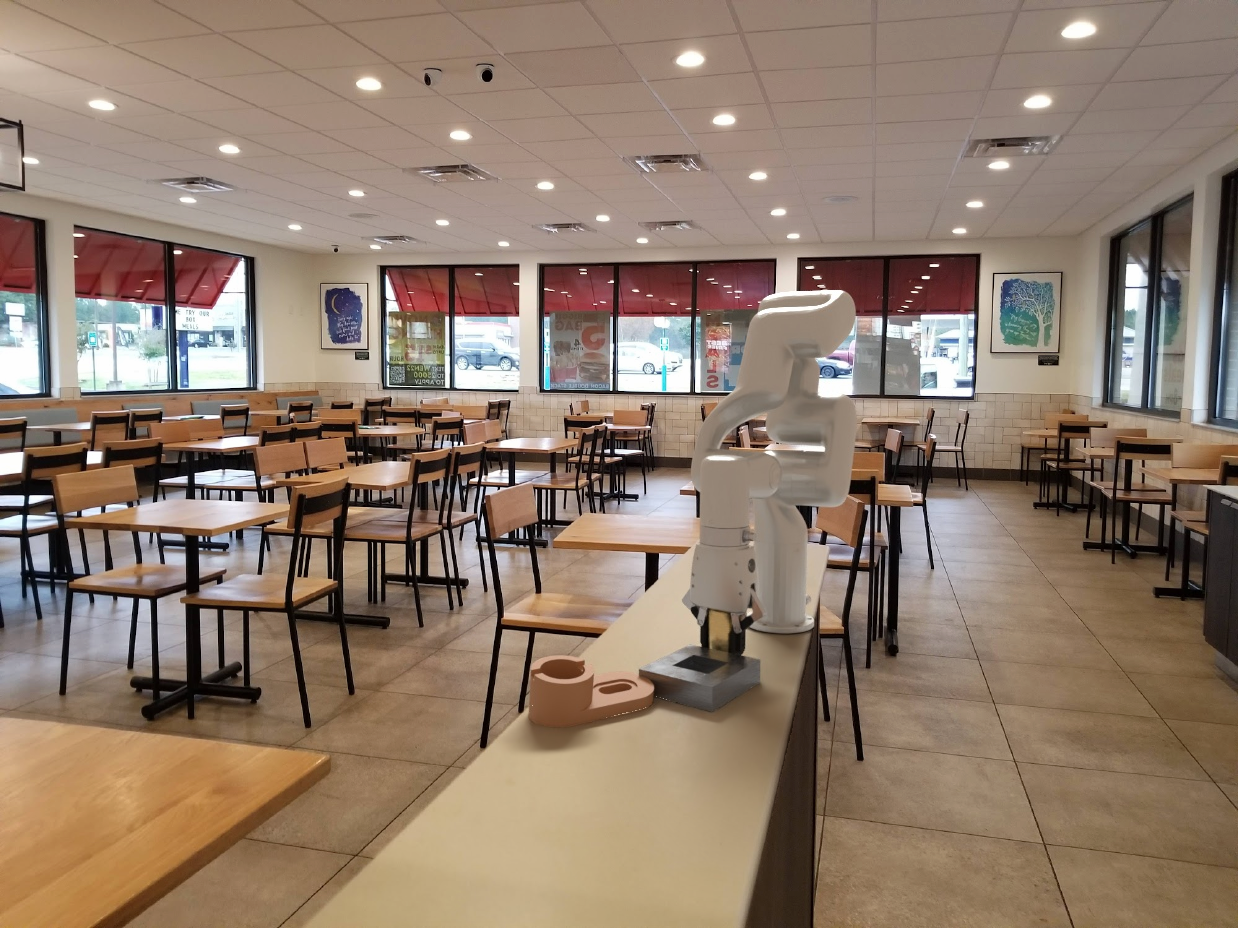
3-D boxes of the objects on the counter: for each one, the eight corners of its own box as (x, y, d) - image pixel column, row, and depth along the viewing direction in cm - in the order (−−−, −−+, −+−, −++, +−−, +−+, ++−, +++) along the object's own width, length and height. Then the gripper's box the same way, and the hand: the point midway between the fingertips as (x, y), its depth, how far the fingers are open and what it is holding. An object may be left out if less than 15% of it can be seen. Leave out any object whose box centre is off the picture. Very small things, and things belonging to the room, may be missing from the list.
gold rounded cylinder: (716, 659, 138) (717, 604, 138) (741, 665, 136) (742, 608, 135) (702, 667, 135) (703, 610, 134) (727, 673, 132) (728, 615, 131)
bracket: (544, 738, 111) (547, 688, 109) (518, 708, 118) (521, 660, 116) (663, 711, 120) (668, 664, 118) (633, 684, 127) (636, 640, 125)
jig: (690, 666, 135) (690, 644, 135) (760, 682, 128) (760, 659, 128) (638, 692, 124) (638, 668, 124) (712, 711, 117) (712, 686, 117)
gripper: (785, 538, 131) (782, 656, 133) (689, 527, 141) (688, 637, 143) (762, 546, 125) (760, 670, 127) (664, 533, 135) (663, 648, 137)
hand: (722, 651), depth 135 cm, fingers closed on gold rounded cylinder, 4 cm apart
